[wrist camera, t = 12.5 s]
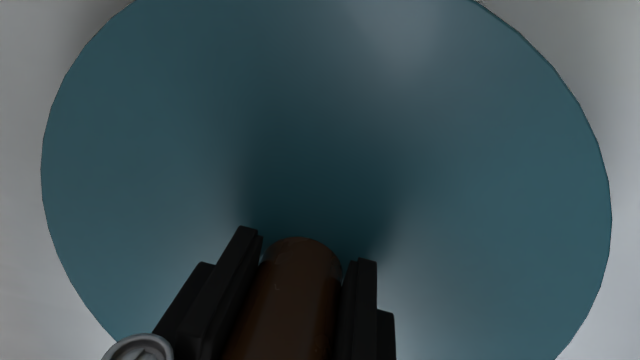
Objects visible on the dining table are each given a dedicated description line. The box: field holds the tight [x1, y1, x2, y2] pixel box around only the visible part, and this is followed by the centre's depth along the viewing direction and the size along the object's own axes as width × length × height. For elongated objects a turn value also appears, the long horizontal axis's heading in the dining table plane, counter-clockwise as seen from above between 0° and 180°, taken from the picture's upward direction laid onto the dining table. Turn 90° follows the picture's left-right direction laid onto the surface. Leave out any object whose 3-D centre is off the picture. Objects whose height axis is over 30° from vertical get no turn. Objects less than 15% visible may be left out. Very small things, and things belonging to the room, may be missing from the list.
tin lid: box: [40, 0, 612, 360], centre depth 10 cm, size 17×17×6 cm
